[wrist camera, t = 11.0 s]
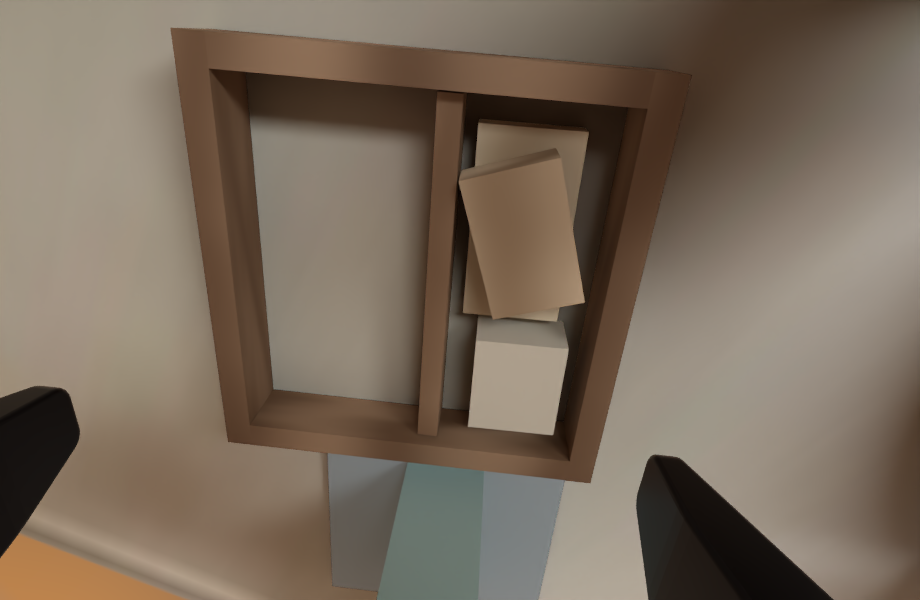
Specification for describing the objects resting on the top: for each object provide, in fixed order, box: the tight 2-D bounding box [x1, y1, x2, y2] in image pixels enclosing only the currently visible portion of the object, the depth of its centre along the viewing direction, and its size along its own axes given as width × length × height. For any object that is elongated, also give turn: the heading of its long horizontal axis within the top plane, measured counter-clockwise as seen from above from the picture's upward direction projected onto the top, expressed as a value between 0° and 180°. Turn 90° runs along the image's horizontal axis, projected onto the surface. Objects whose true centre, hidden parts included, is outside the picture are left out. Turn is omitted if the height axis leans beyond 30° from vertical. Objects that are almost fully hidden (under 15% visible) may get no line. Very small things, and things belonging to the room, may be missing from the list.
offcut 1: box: [463, 119, 589, 322], centre depth 20 cm, size 4×7×2 cm, turn 176°
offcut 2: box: [459, 148, 585, 320], centre depth 18 cm, size 3×5×2 cm, turn 14°
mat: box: [328, 453, 565, 600], centre depth 27 cm, size 11×11×1 cm
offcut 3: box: [468, 314, 569, 435], centre depth 22 cm, size 3×4×2 cm
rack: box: [171, 28, 692, 483], centre depth 20 cm, size 15×15×2 cm
